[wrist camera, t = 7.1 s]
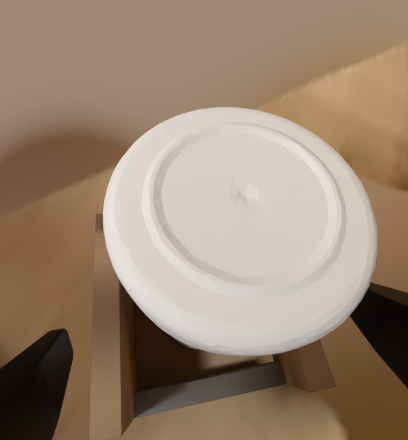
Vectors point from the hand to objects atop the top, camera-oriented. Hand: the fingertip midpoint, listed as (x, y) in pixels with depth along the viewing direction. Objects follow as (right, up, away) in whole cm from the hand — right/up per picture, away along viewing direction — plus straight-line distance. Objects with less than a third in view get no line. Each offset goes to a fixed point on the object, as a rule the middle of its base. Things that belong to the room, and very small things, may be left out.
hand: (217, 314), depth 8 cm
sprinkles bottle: (-1, -3, +8) cm, 9 cm away
